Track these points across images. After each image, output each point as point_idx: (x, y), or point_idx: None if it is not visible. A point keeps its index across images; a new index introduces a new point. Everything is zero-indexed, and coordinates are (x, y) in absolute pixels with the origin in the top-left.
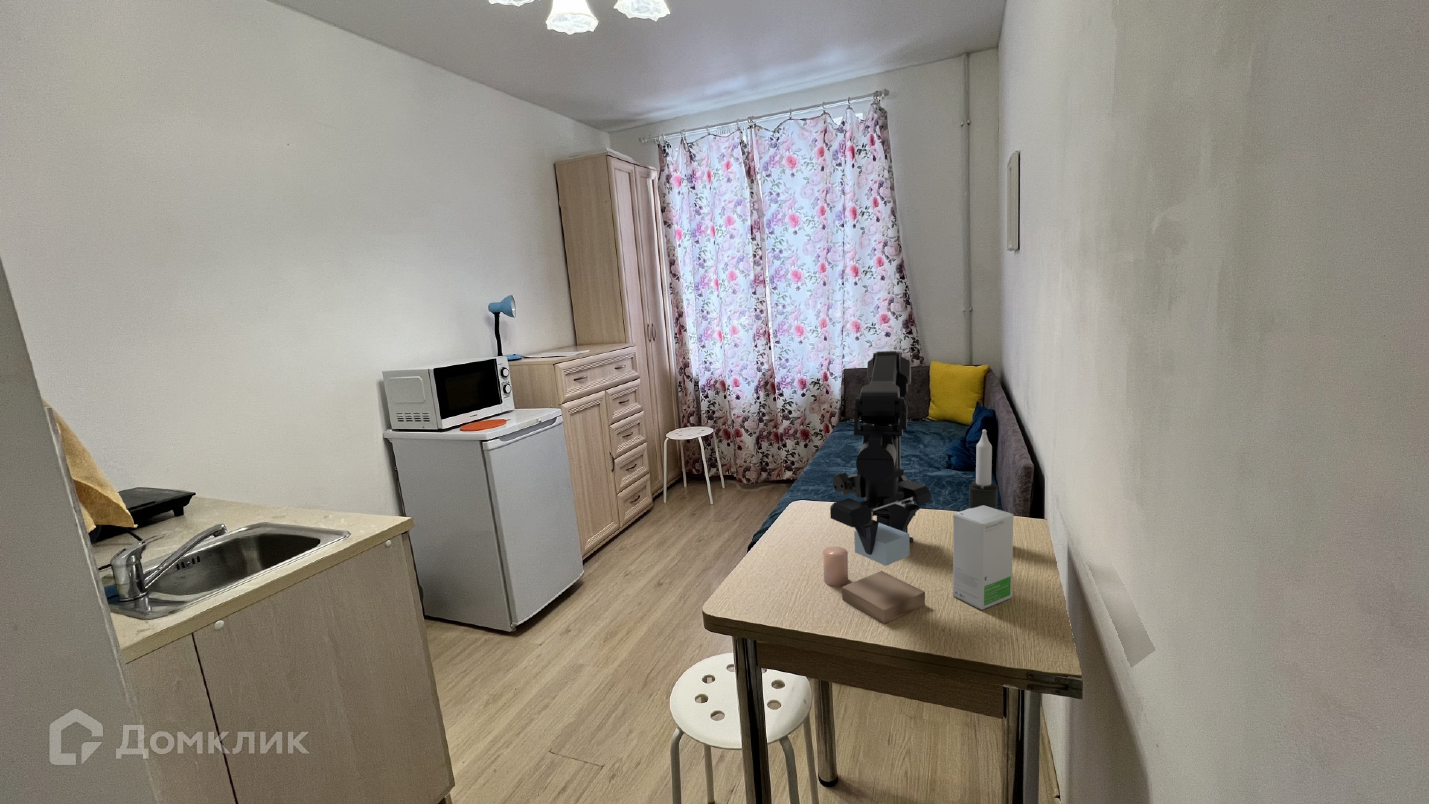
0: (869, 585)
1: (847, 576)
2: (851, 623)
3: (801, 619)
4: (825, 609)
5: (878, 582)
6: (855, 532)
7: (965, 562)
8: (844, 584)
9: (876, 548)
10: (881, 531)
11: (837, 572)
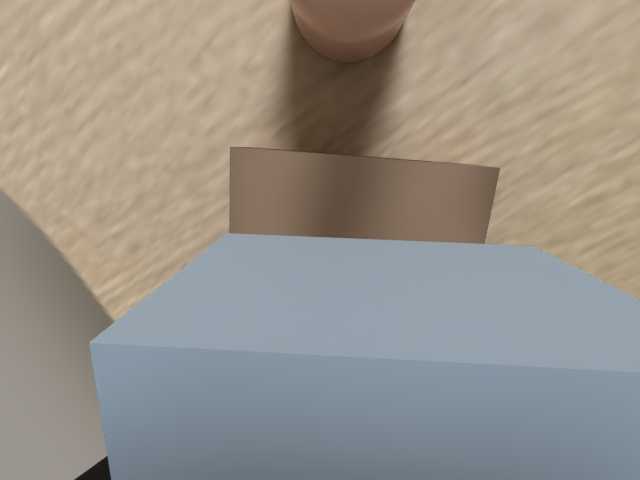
0: (336, 224)
1: (373, 48)
2: (162, 277)
3: (29, 142)
4: (146, 152)
5: (387, 234)
6: (105, 357)
7: None
8: (344, 60)
9: None
10: None
11: (308, 25)
